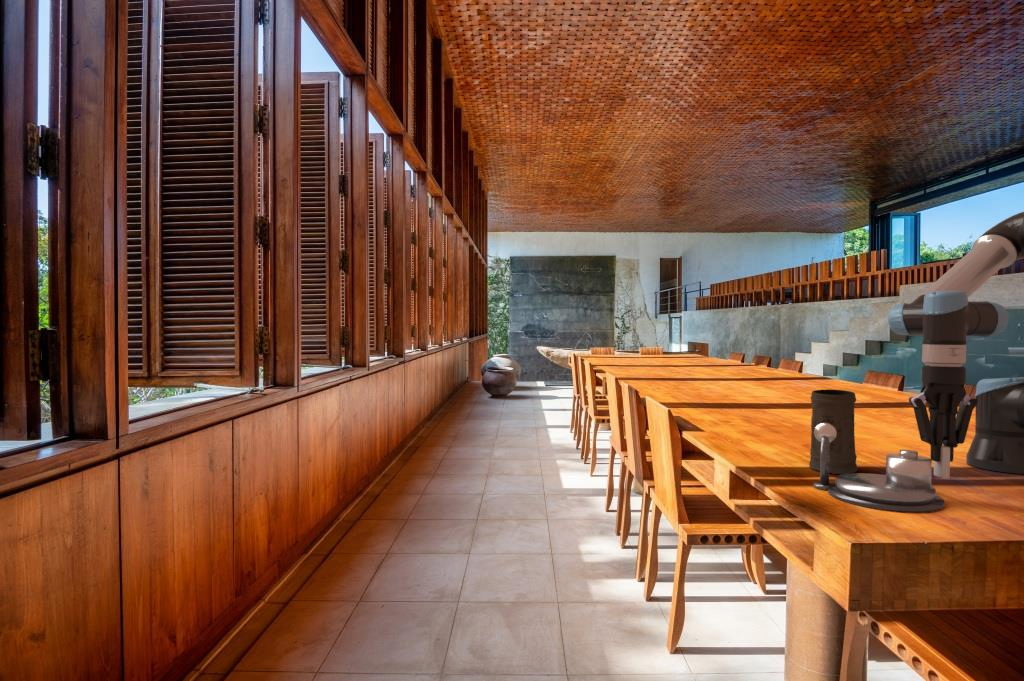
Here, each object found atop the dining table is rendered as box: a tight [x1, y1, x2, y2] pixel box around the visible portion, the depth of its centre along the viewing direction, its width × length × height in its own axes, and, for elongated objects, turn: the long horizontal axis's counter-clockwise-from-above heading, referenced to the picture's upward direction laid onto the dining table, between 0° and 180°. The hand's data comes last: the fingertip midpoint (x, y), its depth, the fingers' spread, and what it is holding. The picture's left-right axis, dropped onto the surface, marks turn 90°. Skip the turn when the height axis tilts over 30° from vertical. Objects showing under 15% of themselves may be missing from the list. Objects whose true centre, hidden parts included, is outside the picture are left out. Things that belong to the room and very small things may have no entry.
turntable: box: [834, 472, 937, 506], centre depth 128 cm, size 22×18×6 cm
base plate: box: [827, 482, 946, 513], centre depth 127 cm, size 21×21×1 cm
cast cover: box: [885, 449, 933, 489], centre depth 127 cm, size 8×8×7 cm
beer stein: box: [808, 388, 858, 475], centre depth 153 cm, size 15×11×20 cm
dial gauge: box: [813, 423, 837, 492], centre depth 134 cm, size 4×4×15 cm
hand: (941, 476), depth 127 cm, fingers closed
